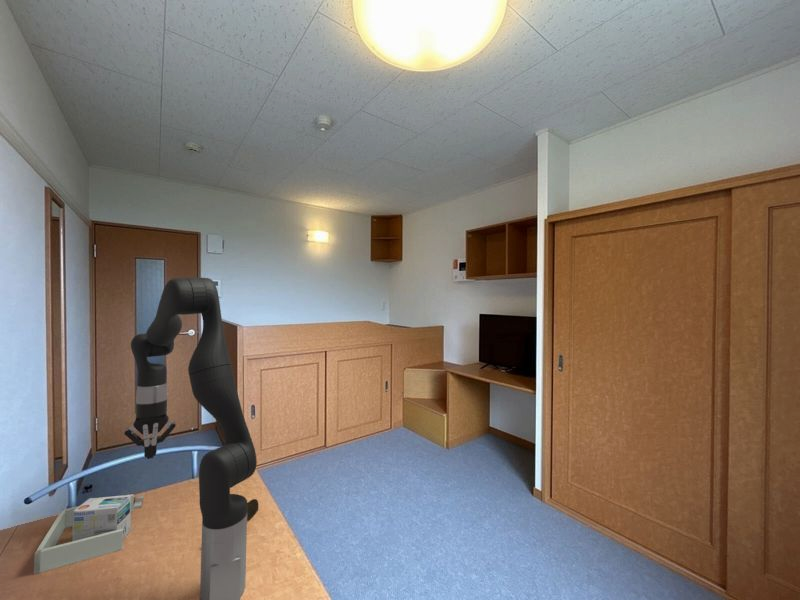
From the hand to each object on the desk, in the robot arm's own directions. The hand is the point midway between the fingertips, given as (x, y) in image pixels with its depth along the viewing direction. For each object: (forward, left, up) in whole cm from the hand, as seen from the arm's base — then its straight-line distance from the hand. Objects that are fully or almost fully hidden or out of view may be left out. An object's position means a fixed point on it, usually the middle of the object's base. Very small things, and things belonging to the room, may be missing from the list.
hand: (150, 457), depth 101 cm
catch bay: (0, +13, -19) cm, 23 cm away
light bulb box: (-3, +10, -20) cm, 22 cm away
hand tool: (-15, -22, -20) cm, 33 cm away
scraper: (+13, +11, -19) cm, 26 cm away
